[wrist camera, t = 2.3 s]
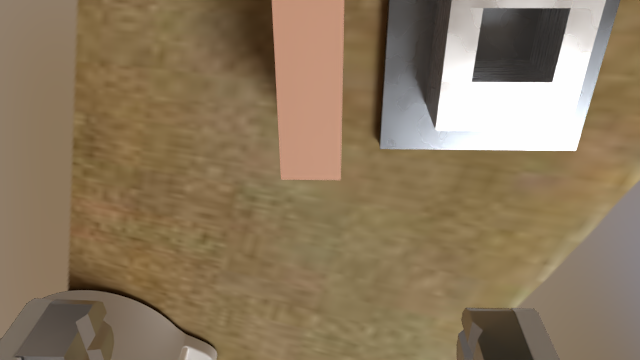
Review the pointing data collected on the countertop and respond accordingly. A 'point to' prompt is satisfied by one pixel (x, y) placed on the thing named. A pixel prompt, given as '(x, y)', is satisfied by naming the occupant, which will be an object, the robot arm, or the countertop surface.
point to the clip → (309, 86)
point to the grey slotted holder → (491, 72)
